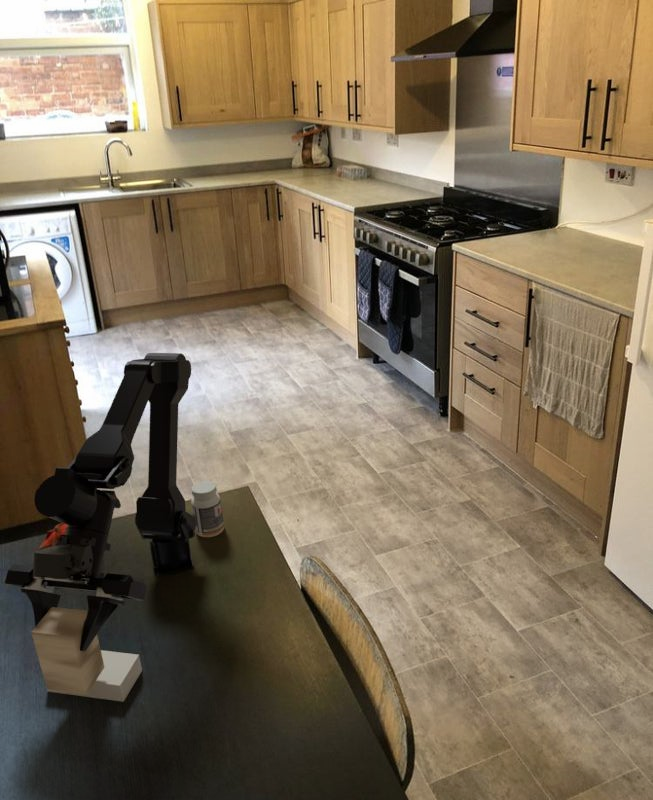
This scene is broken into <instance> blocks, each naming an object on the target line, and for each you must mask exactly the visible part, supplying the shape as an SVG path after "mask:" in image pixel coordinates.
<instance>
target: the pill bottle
mask: <svg viewBox="0 0 653 800" xmlns="http://www.w3.org/2000/svg"><path fill="white" fill-rule="evenodd" d="M191 495H192V498H191V502H190V503H191V504H190V505H191V511H192V516H194V517H195V518H196V528H195V530H194V531H195V534H197V535H198V536H199V537H202V538H213V537H216V536H218V535H220V534H222V532H223V531H224V529H225V523H224V522H225V521H224V517H223V516H224V515H223V508H222V502H221V497H220V495H219V493H217V485H216V483H215V482H213V481H210V480H209V481H208V480H204V481H199V482H197V483H195V484H193V485H192V487H191Z"/></svg>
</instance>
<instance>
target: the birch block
mask: <svg viewBox="0 0 653 800" xmlns="http://www.w3.org/2000/svg"><path fill="white" fill-rule="evenodd" d="M87 613H88V610H86V609H85V610H84V609H75V608H65V607H58V606H57V607H52V608H51V609H50V610H49V611H48V612H47V614H46V615H45V616H44V617H43V618H42V620H41V621H40V622H39V623H38V624H37V626H36V627H34V628H33V629H32V631H30V633H31V636H32V640H33V643H34V646H35V647H34V648H35V652H36V654H37V658H38V662H39V665H40V669H41V672H42V677H43V681H44V682H45V687H47V688H46V690H47V689H49V690H57V691H64V692H72V693H79V694H87V693H88V692H89V690H90V689H91V687H92V686H93V684H94V683H95V681H96V680H97V678H98V676H99V675H100V673H101V672H102V670H103V669H104V663H103V658H102V654H101V650H102V649H101V646H100V642H99V637H98V634H97V635H96V636H95V638H94V639H93V641H92V642H91V644H90V645H89V647H88V648H87V650H86V651H80V644H81V637H82V633H83V629H84V625H85V621H86V617H87Z"/></svg>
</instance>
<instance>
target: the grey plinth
mask: <svg viewBox="0 0 653 800" xmlns="http://www.w3.org/2000/svg"><path fill="white" fill-rule="evenodd" d="M101 654H102V658H103V663H104V669H103V670H102V672H101V673H100V675H99V676H98V678H97V680H96V681H95V683H94V684H93V686H92V687H91V689H90V690H89V692H88V693H87V694H79V693H72V692H64V691H57V690H49V689H47V687H46V686H45V687H46V691H47V692H49V693H55V694H61V695H62V694H64V695H73V696H77V697H78V696H79V697H86V698H93V699H101V700H107V701H108V700H109V701H113V702H114V701H115V702H122V703H123V702H125V701H126V699H127V697H128V695H129V694H130V692H131V689H132V688H133V687H134V685H135V683H136V681H137V680H138V678H139V677H140V676H141V673H142V671H143V668H142V663H141V658H140V654H138V653H137V654H135V653H127V652H119V651H113V650H112V651H111V650H103V649H101Z"/></svg>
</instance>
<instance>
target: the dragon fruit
mask: <svg viewBox="0 0 653 800" xmlns="http://www.w3.org/2000/svg"><path fill="white" fill-rule="evenodd" d="M67 527H68V525H67V524H64V523H61V522H59V523H58V524H56V525H55V526H54V528H53V529H50V530H47V531H46V535H45V538H44V540H43V541H42V543H40V546H39V547H38V549H37V550H36V551H38V550H41V549H44V548H48V547H53V546H56V544H57V541H58V538H59V537H60V535H66V531H67Z"/></svg>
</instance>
